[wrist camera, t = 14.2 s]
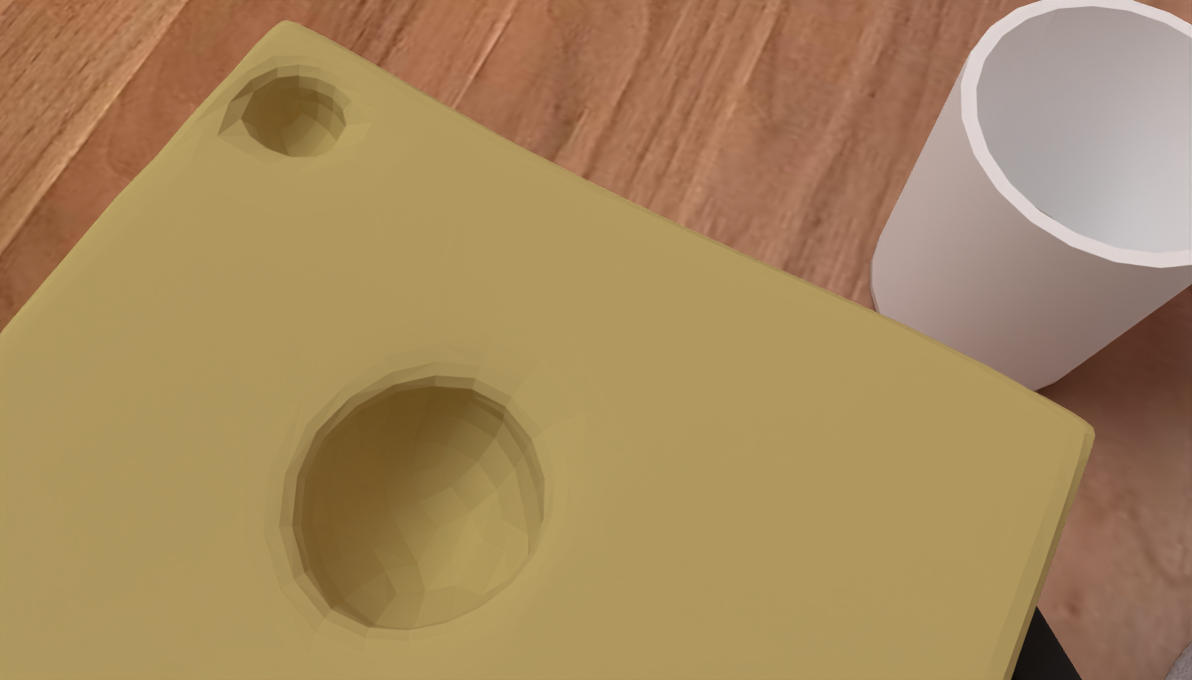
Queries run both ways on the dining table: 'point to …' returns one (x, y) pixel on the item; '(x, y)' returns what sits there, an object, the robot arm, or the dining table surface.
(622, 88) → the dining table surface
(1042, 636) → the robot arm
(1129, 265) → the mug
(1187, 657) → the planter
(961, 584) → the cheese
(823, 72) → the dining table surface
